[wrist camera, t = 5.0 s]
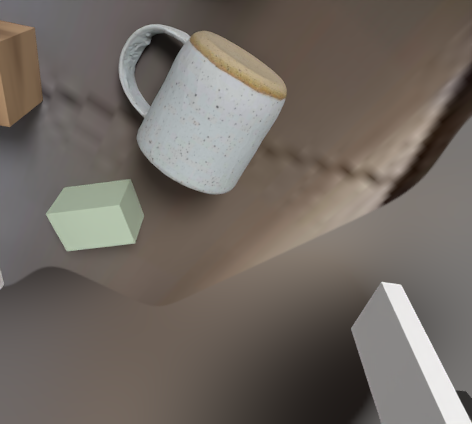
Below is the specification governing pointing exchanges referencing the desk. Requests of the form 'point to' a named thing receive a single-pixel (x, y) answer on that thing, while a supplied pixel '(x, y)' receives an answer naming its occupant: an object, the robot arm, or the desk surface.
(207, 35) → the ceramic mug
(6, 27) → the walnut block
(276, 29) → the desk surface
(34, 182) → the desk surface
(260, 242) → the desk surface
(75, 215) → the sage green block
